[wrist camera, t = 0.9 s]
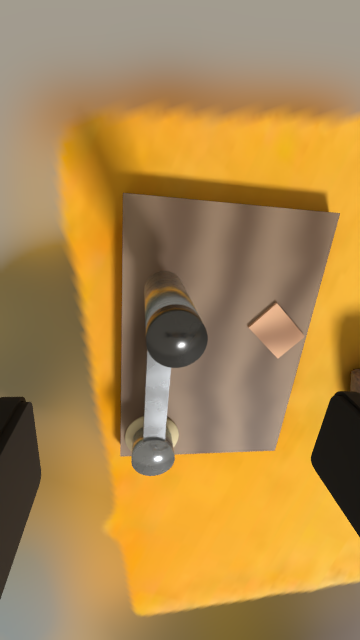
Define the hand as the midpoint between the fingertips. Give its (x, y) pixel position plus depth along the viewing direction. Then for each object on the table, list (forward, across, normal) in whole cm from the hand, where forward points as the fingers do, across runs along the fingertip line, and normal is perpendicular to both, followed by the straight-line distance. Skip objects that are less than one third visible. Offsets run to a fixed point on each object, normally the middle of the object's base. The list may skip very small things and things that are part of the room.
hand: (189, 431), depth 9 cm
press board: (+20, -7, +7) cm, 22 cm away
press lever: (+18, -1, +9) cm, 20 cm away
